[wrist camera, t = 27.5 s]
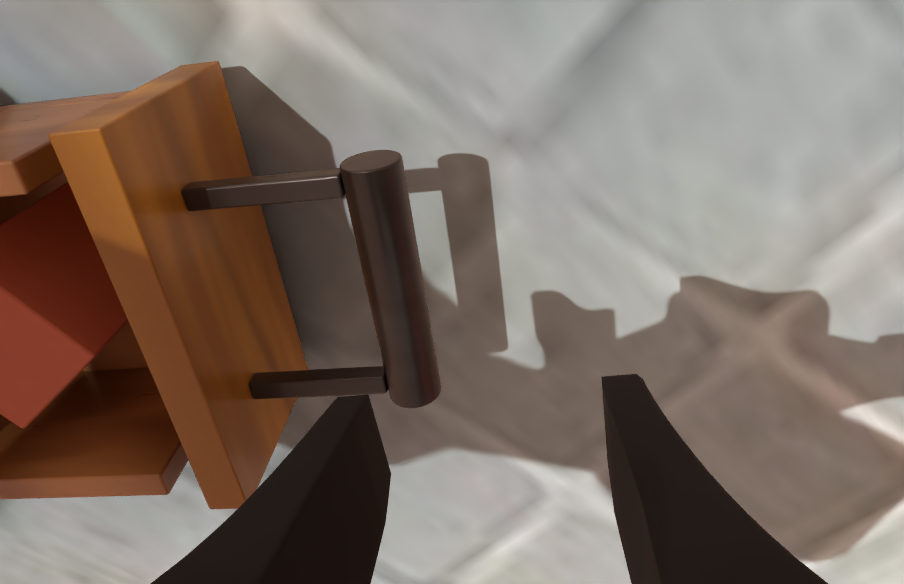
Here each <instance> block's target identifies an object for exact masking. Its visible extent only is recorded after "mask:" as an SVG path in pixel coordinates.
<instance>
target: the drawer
mask: <svg viewBox="0 0 904 584" xmlns="http://www.w3.org/2000/svg"><path fill="white" fill-rule="evenodd" d="M65 183H68V184H69V185H70V187H71V190H72V192H73V194H74V196H75V199H76V201H77V203H78V206H79V208H80V210H81V213H82V215H83V217H84V220H85V222H86V224H87V227H88V229H89V231H90V233H91V236H92V238H93V240H94V243H95V245H96V247H97V250H98V252H99V254H100V257H101V259H102V261H103V263H104V266H105V268H106V270H107V273H108V275H109V277H110V280H111V282H112V284H113V287H114V289H115V291H116V294H117V296H118V298H119V300H120V303H121V305H122V307H123V310H124V312H125V314H126V317H127V319H128V322H127V323H126V324H125V325H124V326H123V327H122V328H121V329H120V330H119V331H118V333H117V334H116V335H115V336H114V337H113V338H112V339H111V340H110V341H109V342H108V343H107V345H106V346H105V347H104V348H103V349H102V350H101V351H100V352H99V353H98V354H97V356H96V357H95V358H94V359H93V360H92V361H91V362H90V363H89V364H88V365H87V366H86V367H85V368H84V369H83V370H82V371H81V372H80V373H79V374H78V375H77V376H76V377H75V378H74V379H73V380H72V381H71V382H70V383H69V384H68V385H67V386H66V387H65V388H64V389H63V391H62V392H61V393H60V394H59V395H58V396H57V397H56V398H55V399H54V400H53V401H52V402H51V403H50V404H49V405H48V406H47V407H46V408H45V409H44V410H43V411H42V412H41V413H40V414H39V415H38V416H37V417H36V418H35V419H34V420H33V421H32V422H31V423H30V424H29V425H28V426H27V427H26V428H24V429H22V428H20V427H19V426H17V425H16V424H14V423H13V422H11V421H10V420H8V419H7V418H5V417H4V416H2V415H1V414H0V499H23V498H61V497H98V496H136V495H167V494H169V493H170V491H171V489H172V487H173V486H174V484H175V482H176V481H177V479H178V477H179V475H180V474H181V472H182V470H183V469H184V467H185V465H186V463H187V462H188V460H189V462H190V464H191V467H192V469H193V471H194V474H195V476H196V478H197V481H198V483H199V485H200V488H201V490H202V492H203V494H204V497H205V499H206V501H207V504H208V506H209V508H210V509H236V508H239V507H240V506H241V505H242V504H243V503H244V502H245V501H246V500H247V499H248V498H249V497H250V496H251V495H252V494H253V493H254V492H255V491H256V490H257V488H258V485H259V483H260V481H261V479H262V476H263V474H264V472H265V470H266V467H267V465H268V463H269V461H270V458H271V456H272V454H273V451H274V449H275V447H276V445H277V442H278V440H279V438H280V436H281V433H282V431H283V429H284V427H285V424H286V422H287V420H288V418H289V415H290V413H291V411H292V408H293V406H294V404H295V402H296V399H297V397H317V396H338V395H360V394H381V393H387V391H388V389H389V394H390V398H391V400H392V401H393V402H394V403H395V404H396V405H398V406H400V407H404V408H418V407H422V406H425V405H427V404H429V403H431V402H433V401H434V400H435V399H436V398H437V397H438V396H439V394H440V392H441V381H440V376H439V370H438V364H437V358H436V352H435V346H434V341H433V335H432V329H431V323H430V317H429V312H428V306H427V300H426V294H425V288H424V282H423V277H422V271H421V265H420V259H419V253H418V247H417V242H416V236H415V230H414V224H413V218H412V213H411V207H410V201H409V195H408V189H407V183H406V178H405V172H404V166H403V160H402V156H401V154H400V153H398V152H396V151H391V150H375V151H368V152H363V153H360V154H356V155H354V156H351V157H349V158H347V159H345V160H344V161H343V162H342V163H341V164H340V168H334V169H324V170H313V171H303V172H292V173H282V174H271V175H261V176H252V174H251V170H250V167H249V163H248V160H247V157H246V153H245V150H244V146H243V143H242V139H241V136H240V132H239V129H238V125H237V122H236V119H235V115H234V112H233V108H232V105H231V101H230V98H229V94H228V91H227V87H226V84H225V81H224V77H223V74H222V70H221V67H220V63H219V62H218V61H214V62H205V63H197V64H189V65H181V66H179V67H177V68H175V69H173V70H171V71H169V72H168V73H166V74H164V75H162V76H160V77H158V78H156V79H154V80H152V81H150V82H148V83H146V84H144V85H142V86H140V87H138V88H136V89H135V90H133V91H127V92H118V93H110V94H101V95H93V96H84V97H76V98H67V99H58V100H50V101H41V102H33V103H24V104H16V105H7V106H0V225H1V224H2V223H4V222H6V221H7V220H9V219H10V218H12V217H13V216H15V215H16V214H18V213H20V212H21V211H23V210H24V209H26V208H27V207H29V206H30V205H32V204H34V203H35V202H37V201H38V200H40V199H41V198H43V197H44V196H46V195H48V194H49V193H51V192H52V191H54V190H55V189H57V188H59V187H60V186H62V185H63V184H65ZM345 194H346V199H347V203H348V208H349V212H350V217H351V222H352V226H353V231H354V235H355V240H356V244H357V249H358V253H359V258H360V262H361V267H362V271H363V276H364V280H365V285H366V289H367V294H368V299H369V303H370V308H371V312H372V317H373V321H374V326H375V330H376V335H377V339H378V344H379V348H380V353H381V357H382V362H383V366H373V367H354V368H335V369H316V370H308V367H307V364H306V360H305V357H304V353H303V350H302V347H301V343H300V340H299V336H298V333H297V329H296V326H295V322H294V319H293V315H292V312H291V309H290V305H289V302H288V298H287V295H286V291H285V288H284V284H283V281H282V277H281V274H280V271H279V267H278V264H277V260H276V257H275V253H274V250H273V246H272V243H271V239H270V236H269V233H268V229H267V226H266V222H265V219H264V215H263V212H262V208H261V205H268V204H279V203H290V202H302V201H313V200H324V199H335V198H343V197H344V196H345Z"/></svg>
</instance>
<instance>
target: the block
mask: <svg viewBox="0 0 904 584" xmlns="http://www.w3.org/2000/svg"><path fill="white" fill-rule="evenodd" d="M127 322H128V319H127V317H126V314H125V312H124V310H123V307H122V305H121V303H120V300H119V298H118V296H117V294H116V291H115V289H114V287H113V284H112V282H111V280H110V277H109V275H108V273H107V270H106V268H105V266H104V263H103V261H102V259H101V257H100V254H99V252H98V250H97V247H96V245H95V243H94V240H93V238H92V236H91V233H90V231H89V229H88V227H87V224H86V222H85V220H84V217H83V215H82V213H81V210H80V208H79V206H78V203H77V201H76V199H75V196H74V194H73V192H72V190H71V187H70V185H69V184H68V183H65V184H63V185H62V186H60V187H59V188H57V189H55V190H54V191H52V192H51V193H49V194H48V195H46V196H44V197H43V198H41V199H40V200H38V201H37V202H35V203H34V204H32V205H30V206H29V207H27V208H26V209H24V210H23V211H21V212H20V213H18V214H16V215H15V216H13V217H12V218H10V219H9V220H7V221H6V222H4V223H2V224H1V225H0V414H1V415H2V416H4V417H5V418H7V419H8V420H10V421H11V422H13V423H14V424H16V425H17V426H19V427H20V428H22V429H24V428H26V427H27V426H28V425H29V424H30V423H31V422H32V421H33V420H34V419H35V418H36V417H37V416H38V415H39V414H40V413H41V412H42V411H43V410H44V409H45V408H46V407H47V406H48V405H49V404H50V403H51V402H52V401H53V400H54V399H55V398H56V397H57V396H58V395H59V394H60V393H61V392H62V391H63V389H64V388H65V387H66V386H67V385H68V384H69V383H70V382H71V381H72V380H73V379H74V378H75V377H76V376H77V375H78V374H79V373H80V372H81V371H82V370H83V369H84V368H85V367H86V366H87V365H88V364H89V363H90V362H91V361H92V360H93V359H94V358H95V357H96V356H97V354H98V353H99V352H100V351H101V350H102V349H103V348H104V347H105V346H106V345H107V343H108V342H109V341H110V340H111V339H112V338H113V337H114V336H115V335H116V334H117V333H118V331H119V330H120V329H121V328H122V327H123V326H124V325H125V324H126V323H127Z"/></svg>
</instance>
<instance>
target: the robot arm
mask: <svg viewBox="0 0 904 584" xmlns="http://www.w3.org/2000/svg"><path fill="white" fill-rule="evenodd" d="M602 390H603V404H604V418H605V431H606V445H607V459H608V468H609V475H610V483H611V490H612V498H613V505H614V513H615V517H616V521H617V525H618V529H619V533H620V538H621V542H622V546H623V550H624V554H625V558H626V562H627V567H628V571H629V575H630V579H631V583H632V584H828V583H827V582H825V581H824V580H823V579H822V578H820V577H819V576H818V575H817V574H815V573H814V572H813V571H812V570H810V569H809V568H808V567H807V566H805V565H804V564H803V563H802V562H800V561H799V560H798V559H797V558H795V557H794V556H793V555H792V554H791V553H790V552H789V551H788V550H786V549H785V548H784V547H783V546H782V545H781V544H780V543H779V542H777V541H776V540H775V539H774V538H773V537H772V536H771V535H770V534H768V533H767V532H766V531H765V530H764V529H763V528H762V527H761V526H760V525H759V524H758V523H757V522H756V521H755V520H754V519H753V518H752V517H751V516H750V515H749V514H748V513H747V512H746V511H745V510H744V509H743V508H742V507H741V506H740V505H739V504H738V503H737V502H736V501H735V500H734V499H733V498H732V497H731V496H730V495H729V494H728V493H727V492H726V491H725V489H724V488H723V487H722V486H721V485H720V484H719V483H718V482H717V481H716V479H715V478H714V477H713V476H712V475H711V474H710V473H709V472H708V470H707V469H706V468H705V467H704V466H703V465H702V463H701V462H700V461H699V460H698V459H697V457H696V456H695V455H694V454H693V452H692V451H691V450H690V448H689V447H688V446H687V445H686V443H685V442H684V441H683V440H682V438H681V437H680V436H679V434H678V433H677V432H676V430H675V429H674V428H673V426H672V425H671V424H670V422H669V421H668V419H667V418H666V416H665V415H664V413H663V412H662V411H661V409H660V408H659V406H658V404H657V403H656V401H655V400H654V398H653V397H652V395H651V393H650V391H649V390H648V388H647V386H646V384H645V382H644V380H643V379H642V378H641V377H640V376H638V375H637V374H630V375H617V376H604V377H602ZM390 478H391V472H390V468H389V465H388V461H387V458H386V454H385V451H384V447H383V444H382V440H381V437H380V433H379V430H378V427H377V423H376V420H375V416H374V413H373V409H372V406H371V402H370V399H369V395H358V396H345V397H337V399H336V400H335V401H334V402H333V403H332V404H331V405H330V407H329V408H328V409H327V410H326V411H325V412H324V414H323V415H322V416H321V417H320V418H319V419H318V421H317V422H316V423H315V424H314V425H313V427H312V428H311V429H310V430H309V431H308V433H307V434H306V435H305V436H304V437H303V438H302V440H301V441H300V442H299V443H298V444H297V445H296V447H295V448H294V449H293V450H292V451H291V452H290V454H289V455H288V456H287V457H286V458H285V459H284V460H283V461H282V463H281V464H280V465H279V466H278V467H277V468H276V469H275V471H274V472H273V473H272V474H271V475H270V476H269V477H268V478H267V479H266V480H265V481H264V482H263V483H262V484H261V485H260V486H259V488H258V489H257V490H256V491H255V492H254V493H253V494H252V495H251V496H250V497H249V498H248V499H247V500H246V501H245V502H244V503H243V504H242V505H241V506H240V507H239V508H238V509H237V510H236V511H235V512H234V513H233V514H232V515H231V516H230V517H229V518H228V519H227V520H226V521H225V522H224V523H223V524H222V525H221V526H220V527H218V528H217V529H216V530H215V531H214V532H213V533H212V534H211V535H210V536H208V537H207V538H206V539H205V540H204V541H203V542H202V543H200V544H199V545H198V546H197V547H196V548H195V549H194V550H193V551H191V552H190V553H189V554H188V555H187V556H185V557H184V558H183V559H182V560H180V561H179V562H178V563H177V564H175V565H174V566H173V567H171V568H170V569H169V570H168V571H166V572H165V573H164V574H162V575H161V576H160V577H159V578H157V579H156V580H155V581H153V582H152V583H151V584H370V583H371V579H372V575H373V571H374V567H375V563H376V559H377V555H378V551H379V547H380V543H381V539H382V535H383V531H384V526H385V521H386V513H387V506H388V497H389V488H390Z"/></svg>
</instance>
